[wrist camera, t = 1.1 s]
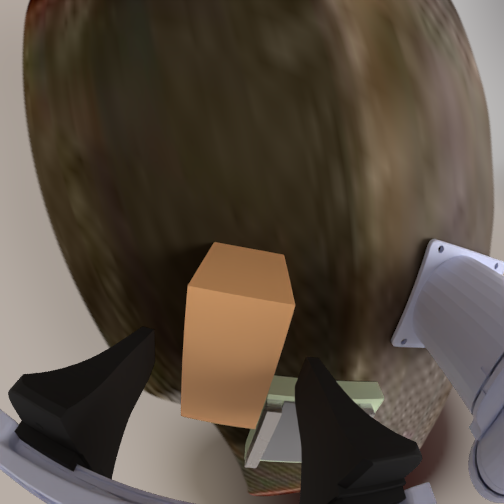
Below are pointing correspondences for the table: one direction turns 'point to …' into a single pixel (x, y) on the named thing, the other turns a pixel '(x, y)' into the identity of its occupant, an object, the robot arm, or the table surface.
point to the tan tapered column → (234, 334)
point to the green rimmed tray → (294, 420)
